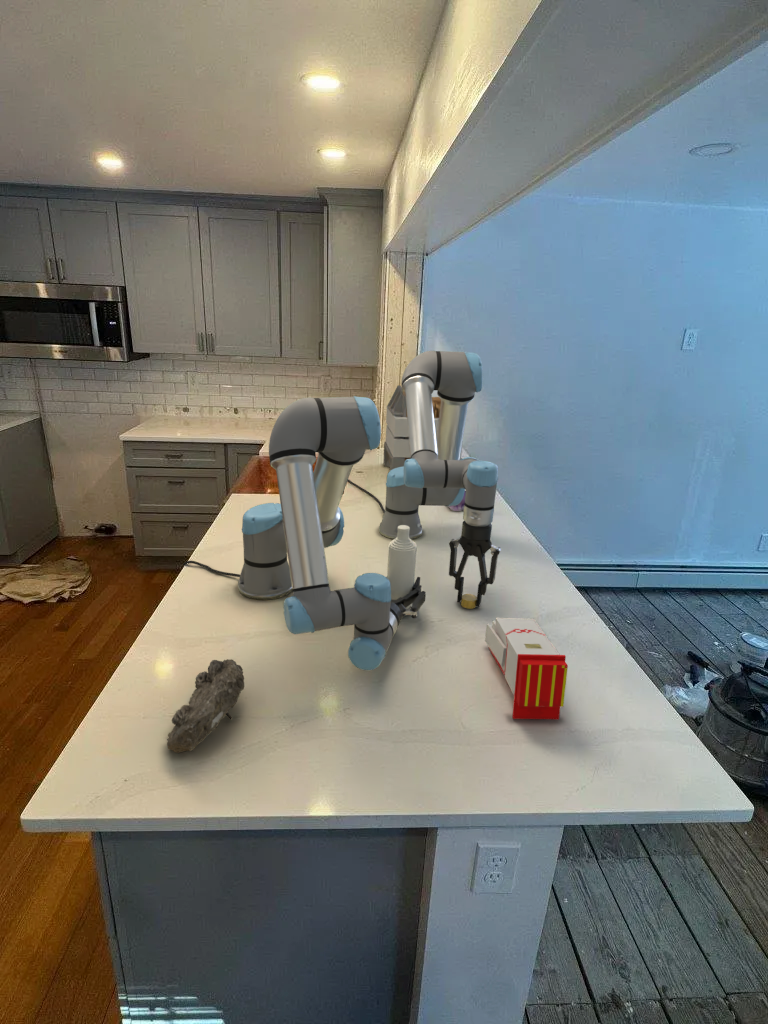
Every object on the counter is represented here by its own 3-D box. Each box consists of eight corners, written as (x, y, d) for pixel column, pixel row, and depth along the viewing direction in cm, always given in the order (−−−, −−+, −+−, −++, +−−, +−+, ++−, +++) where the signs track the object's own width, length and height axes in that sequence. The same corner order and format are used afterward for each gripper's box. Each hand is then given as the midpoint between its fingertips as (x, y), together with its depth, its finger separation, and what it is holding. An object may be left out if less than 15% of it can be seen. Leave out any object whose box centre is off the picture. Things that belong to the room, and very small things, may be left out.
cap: (457, 603, 154) (458, 596, 153) (468, 599, 156) (469, 592, 155) (468, 610, 151) (469, 602, 150) (479, 606, 153) (480, 598, 152)
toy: (531, 603, 136) (576, 661, 106) (526, 655, 139) (569, 725, 109) (481, 602, 135) (512, 660, 106) (477, 654, 138) (507, 724, 109)
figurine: (455, 513, 222) (459, 476, 217) (441, 505, 231) (444, 469, 226) (475, 510, 226) (479, 474, 221) (460, 502, 235) (464, 467, 230)
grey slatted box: (382, 463, 289) (386, 382, 275) (445, 464, 293) (451, 384, 279) (390, 482, 257) (394, 392, 243) (460, 483, 261) (468, 394, 247)
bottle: (397, 600, 154) (401, 520, 147) (417, 609, 150) (423, 527, 142) (380, 609, 149) (383, 526, 141) (400, 619, 145) (405, 534, 137)
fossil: (192, 660, 117) (244, 628, 112) (224, 691, 120) (276, 661, 115) (142, 746, 98) (202, 712, 93) (182, 779, 101) (242, 748, 96)
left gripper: (341, 628, 135) (368, 586, 156) (423, 643, 130) (440, 597, 151) (341, 600, 132) (369, 561, 153) (426, 614, 128) (442, 572, 149)
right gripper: (440, 520, 145) (433, 601, 153) (509, 532, 139) (498, 616, 147) (448, 511, 151) (441, 589, 159) (514, 522, 146) (503, 603, 154)
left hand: (404, 579), depth 152 cm, fingers closed on bottle, 7 cm apart
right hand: (468, 602), depth 153 cm, fingers open, 4 cm apart
